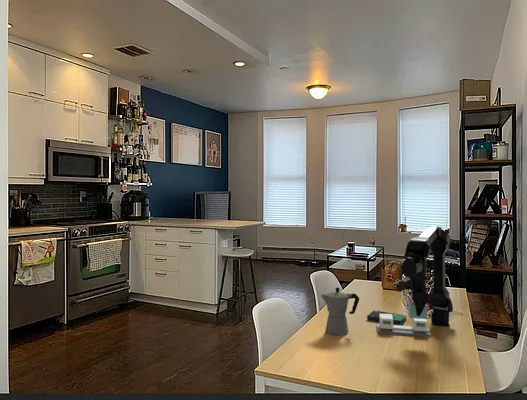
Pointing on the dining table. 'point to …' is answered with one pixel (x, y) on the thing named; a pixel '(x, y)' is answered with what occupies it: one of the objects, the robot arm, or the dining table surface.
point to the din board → (402, 327)
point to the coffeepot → (338, 311)
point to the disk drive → (397, 318)
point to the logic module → (413, 311)
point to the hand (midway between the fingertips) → (417, 314)
